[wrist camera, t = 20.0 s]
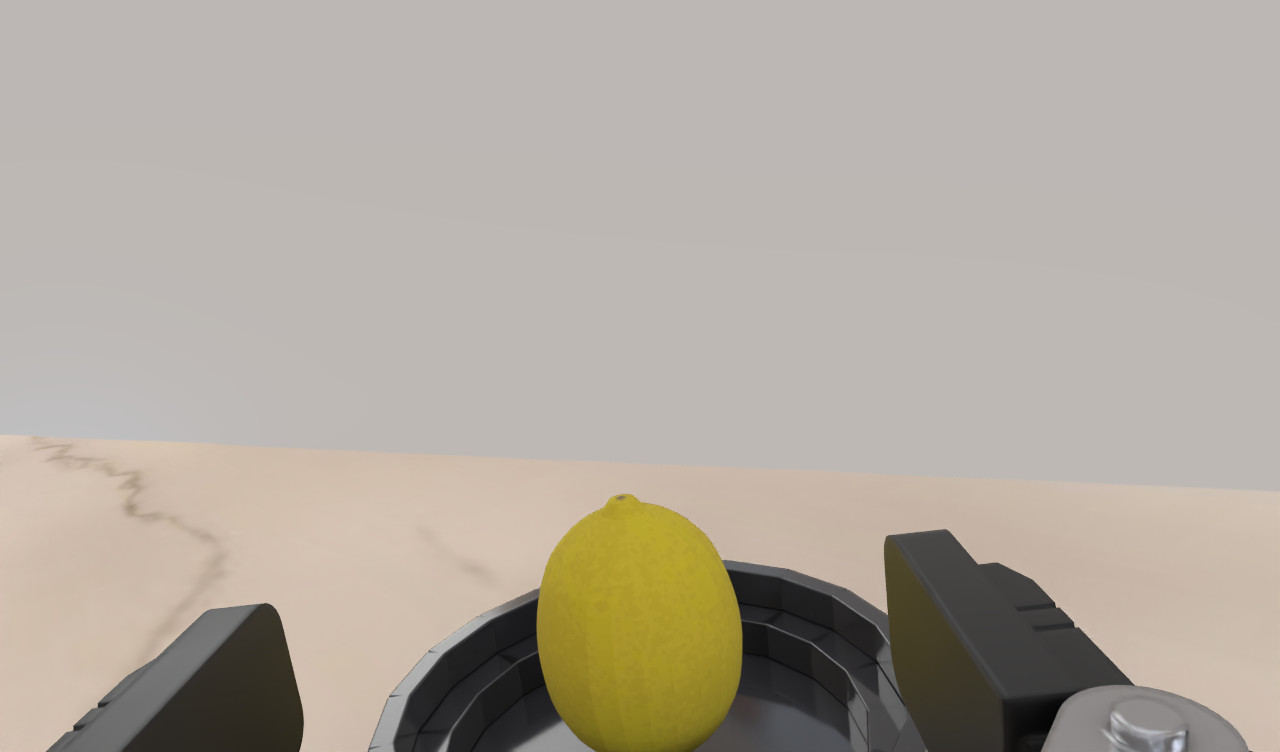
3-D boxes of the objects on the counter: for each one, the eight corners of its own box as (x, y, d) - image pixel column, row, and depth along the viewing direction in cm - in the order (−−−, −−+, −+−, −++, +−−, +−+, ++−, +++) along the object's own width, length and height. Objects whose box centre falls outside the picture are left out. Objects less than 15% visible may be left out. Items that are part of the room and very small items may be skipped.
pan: (838, 609, 32) (832, 535, 31) (1065, 965, 17) (1062, 838, 16) (440, 668, 31) (426, 594, 30) (316, 1093, 16) (283, 966, 16)
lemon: (542, 735, 25) (501, 487, 24) (710, 684, 27) (683, 448, 25) (586, 865, 20) (537, 561, 19) (791, 793, 22) (763, 506, 20)
